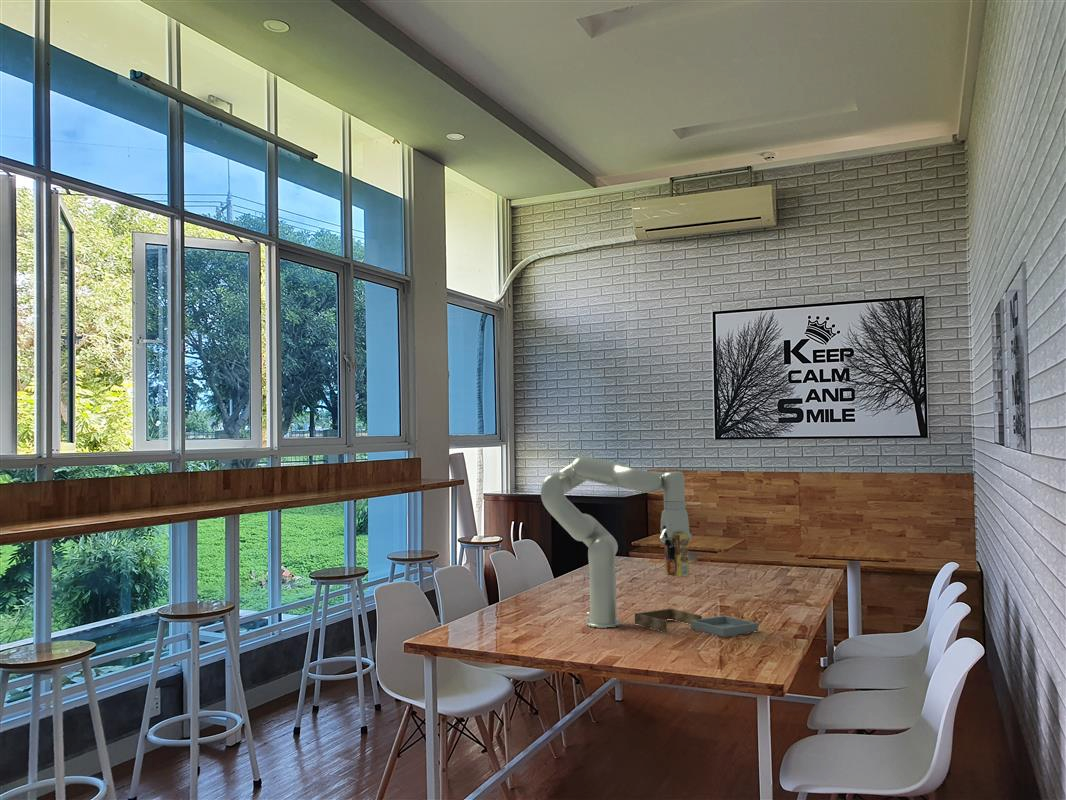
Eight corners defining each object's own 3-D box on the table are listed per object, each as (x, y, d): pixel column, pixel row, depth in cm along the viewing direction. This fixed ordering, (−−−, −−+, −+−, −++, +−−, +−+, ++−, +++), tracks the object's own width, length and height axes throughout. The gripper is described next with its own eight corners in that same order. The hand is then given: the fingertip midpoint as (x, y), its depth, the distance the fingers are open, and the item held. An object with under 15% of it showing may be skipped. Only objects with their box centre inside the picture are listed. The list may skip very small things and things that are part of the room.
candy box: (690, 576, 286) (688, 532, 287) (680, 577, 284) (678, 533, 285) (674, 573, 294) (672, 530, 295) (664, 574, 292) (662, 531, 293)
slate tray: (690, 629, 284) (690, 620, 285) (725, 623, 293) (724, 615, 293) (723, 637, 271) (723, 628, 271) (758, 631, 279) (757, 623, 279)
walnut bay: (634, 624, 293) (634, 613, 294) (671, 619, 302) (671, 608, 302) (664, 633, 279) (664, 621, 279) (701, 627, 288) (701, 615, 288)
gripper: (685, 504, 298) (687, 555, 297) (649, 507, 290) (651, 559, 289) (699, 505, 292) (701, 556, 291) (663, 507, 283) (665, 561, 282)
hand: (676, 557), depth 290 cm, fingers closed on candy box, 4 cm apart
